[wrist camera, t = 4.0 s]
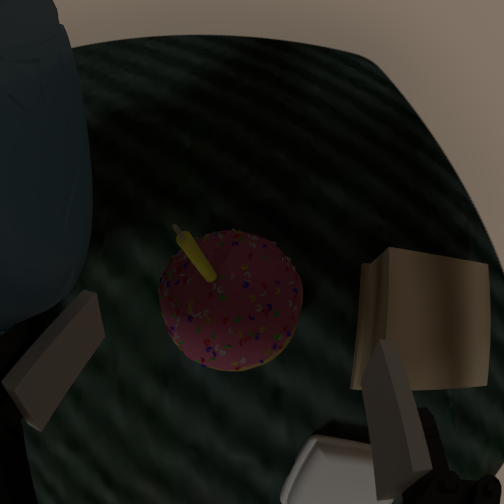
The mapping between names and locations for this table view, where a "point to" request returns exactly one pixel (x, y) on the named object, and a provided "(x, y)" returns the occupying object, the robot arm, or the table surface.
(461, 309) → the pedestal
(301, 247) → the table surface
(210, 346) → the cupcake
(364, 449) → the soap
